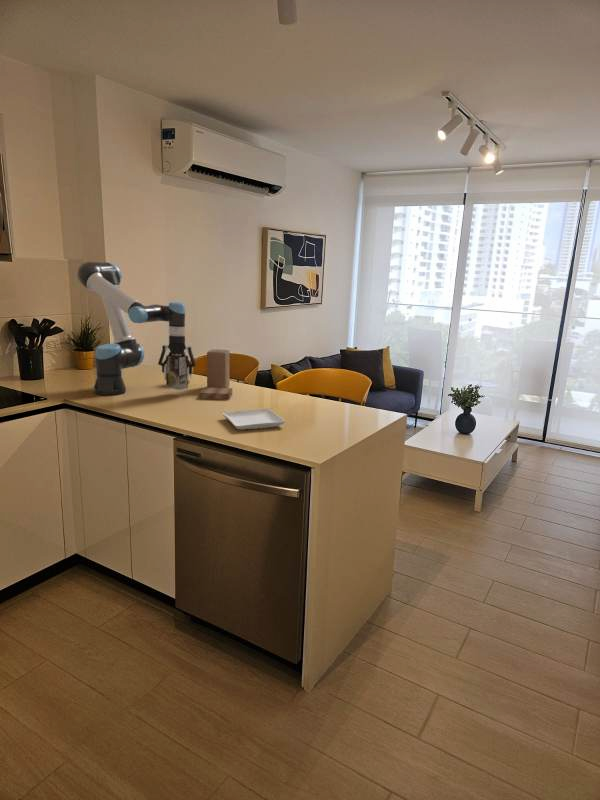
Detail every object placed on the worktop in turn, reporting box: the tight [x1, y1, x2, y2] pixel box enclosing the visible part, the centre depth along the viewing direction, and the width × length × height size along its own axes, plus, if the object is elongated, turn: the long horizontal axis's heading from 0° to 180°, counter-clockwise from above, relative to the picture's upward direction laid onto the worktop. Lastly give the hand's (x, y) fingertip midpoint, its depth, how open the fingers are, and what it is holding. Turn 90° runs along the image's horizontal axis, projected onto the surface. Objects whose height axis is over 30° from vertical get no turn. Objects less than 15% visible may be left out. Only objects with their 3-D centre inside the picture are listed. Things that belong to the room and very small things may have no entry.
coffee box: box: [165, 354, 189, 391], centre depth 263 cm, size 9×6×16 cm
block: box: [206, 348, 231, 388], centre depth 282 cm, size 10×10×20 cm
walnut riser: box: [199, 387, 233, 400], centre depth 265 cm, size 14×12×3 cm
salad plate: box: [221, 408, 286, 431], centre depth 222 cm, size 21×21×3 cm
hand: (177, 379), depth 264 cm, fingers closed on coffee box, 10 cm apart
